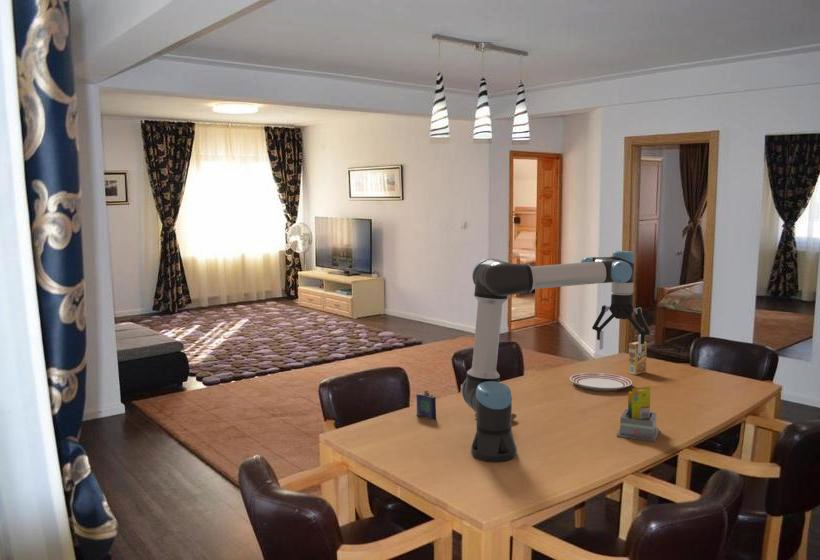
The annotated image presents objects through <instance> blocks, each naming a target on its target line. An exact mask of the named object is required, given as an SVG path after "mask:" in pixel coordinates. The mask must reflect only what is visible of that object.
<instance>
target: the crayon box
mask: <svg viewBox="0 0 820 560" xmlns="http://www.w3.org/2000/svg"><path fill="white" fill-rule="evenodd" d="M631 390H632V391H628V392H627V394H628V397H627V401H628V402H627V403H628V404H627V409H628V418H635V419H643V418H650V412H651V386H644V387H642V386H641V387H634V388H631Z"/></svg>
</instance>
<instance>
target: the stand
mask: <svg viewBox="0 0 820 560" xmlns="http://www.w3.org/2000/svg"><path fill="white" fill-rule="evenodd" d="M657 417H658V416H657V412H653V411H650V418H643V419H635V418H628V408H625V409H624V411H623V413H622V414H621V416H620V420H619V421H620V422H619V425H620V426H619V429H618V431H617V433H616V437H617V438H625V439H633V440H637V441H638V440H640V441H646V442H653V443H656V440H657V438H658V435H659V432H660V428H659V427H657Z"/></svg>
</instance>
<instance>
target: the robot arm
mask: <svg viewBox="0 0 820 560" xmlns="http://www.w3.org/2000/svg"><path fill="white" fill-rule="evenodd" d="M635 265H636V264H635V253H634V252H633V251H630V250H614V251H612V255H611V256H608V257H607V256H590V257H589V256H588V257H584V258H582V259H581V261H580V262H573V263H561V264H558V263H557V264H548V265H534V266H532V265H530V264H529V263H520V264H519V263H512V262H508V261H503V260H500V259H497V258H496V259H495V258H484V259H482V260H480V261H479V262H478V263H477V264H476V265H475V267H474V268H473V271H472V276H471V277H472V282H473V284H474V293H473V296H474V298H475V299H476V301H477V309H476V321H475V329H474V339H473V351H472V352H473V353H472V362H471V368H470V369H468V370H467V372H466V378H465V380H464V381H463V383H462V387H461V393H462V397H463V399H464V402H465V403H466V405H468V407H469V408H471V409H472V410H473V412H474V413H476V417H475V418H476V420H475V421H476V429H475V430H476V432H475V434H474V437H473V440H472V444H471V448H470V449H471V450H470V451H471V455H472V457H474V458H475V459H477V460H480V461H483V462H490V463H501V462H502V463H504V462H508V461H511V460H513V459H515V458H516V456H517V452H518V451H517V446H516V445H517V444H516V442H515V439H514V435H513V432H512V421H511V414H512V411H513V409H512V402H513V396H512V390H511V388H510V387H509V385H507V384H505V383H503V382H502V383H501V382H500V379H501V378H500V377H501V376H500V374H499V372H498V371H497V364H498V355H499V344H500V343H499V342H500V334H501V323H502V313H503V304H504V303H505V302H506V301H507V300H508V298H509V296H512V295H519V294H529V293H532V291H534V290H538V289H548V288H549V289H550V288H561V287H571V286H574V287H575V286H583V285H593V284H607V283H611V288H610V289H611V290H610V291H611V294H610V295H611V296H610V305H609V306H608V305H606V304H603V305H602V306H601V311H600V313H599V314H598V317H597V318H596V320H595V321H594V323H593V326H592V327H591V329H592V330H593V331H596V339H597V340H598V341H599V346H598V347H599V350H603V349H604V335H605V334H604V332H605V331H604V330H603V329H604V328H605V327H606V326H607V325H608V324H609V323H610V322H611V321H612V320H613V319H614V318H615V319H616V320H628V322H630V323H631V325H633V327H634V328H635V329H636V331H638V333H639V334H638V336H637V339H638V340H637V341H638V353H641V344H644V343H645V342H646V340H645V339H646V335H650V333H651V329H650V326H649V325H648V322H647V321H646V319H645V317H644V315H643V309H642V307H637V308H636V307H634V306H633V305H634V304H633V303H634V302H633V301H634V300H633V299H634V295H633V293H634V276H635ZM608 311H609V312H610V313H611V314H610V315H609V317H608V318H606V320H604V321H603V322H602V324H601V325H599V324H600V323H601V321H602V319H603V318H604V317H605V316H604V315H605V314H606V312H608ZM634 312H635V314H636V315H637V317H638V319H639V321H640V323H641V325H642V327H643V328H642V327H641V326H640V324H639V322H637V320H636V319H635V317H634V316H633V315H632V313H634Z"/></svg>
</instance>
